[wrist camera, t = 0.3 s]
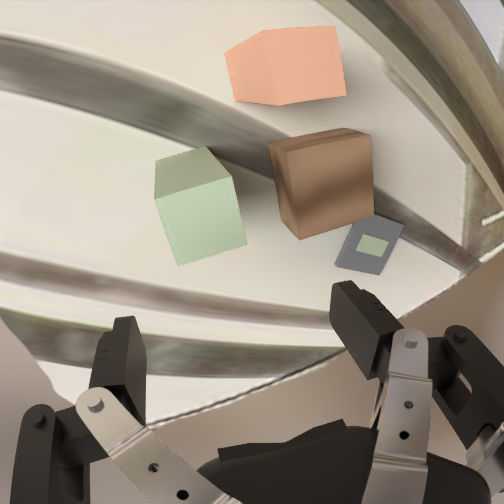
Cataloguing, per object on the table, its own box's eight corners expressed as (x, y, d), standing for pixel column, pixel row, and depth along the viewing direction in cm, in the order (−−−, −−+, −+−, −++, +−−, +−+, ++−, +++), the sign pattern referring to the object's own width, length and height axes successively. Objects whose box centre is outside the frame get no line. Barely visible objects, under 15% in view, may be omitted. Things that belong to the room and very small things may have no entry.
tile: (359, 208, 38) (364, 210, 37) (400, 223, 41) (404, 225, 40) (334, 263, 41) (338, 267, 40) (376, 272, 44) (380, 276, 43)
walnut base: (268, 143, 31) (286, 152, 27) (344, 127, 33) (370, 135, 28) (281, 220, 36) (299, 240, 32) (350, 200, 37) (373, 216, 33)
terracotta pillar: (224, 52, 26) (263, 30, 16) (273, 45, 27) (335, 26, 16) (234, 100, 28) (278, 105, 18) (282, 91, 29) (346, 95, 19)
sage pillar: (155, 160, 29) (154, 199, 19) (205, 146, 30) (231, 176, 20) (169, 206, 32) (177, 266, 22) (217, 192, 32) (247, 244, 22)
